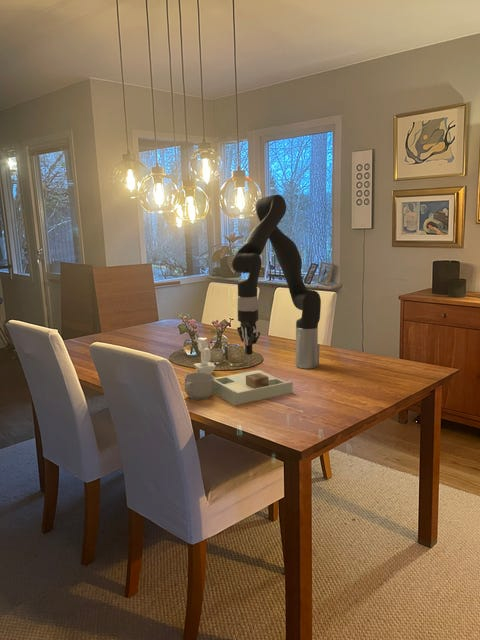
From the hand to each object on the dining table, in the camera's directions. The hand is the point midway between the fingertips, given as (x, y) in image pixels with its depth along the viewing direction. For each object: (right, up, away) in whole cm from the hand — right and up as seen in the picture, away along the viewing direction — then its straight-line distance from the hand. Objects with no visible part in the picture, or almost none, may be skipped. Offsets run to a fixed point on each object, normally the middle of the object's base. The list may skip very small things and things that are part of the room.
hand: (248, 354), depth 198 cm
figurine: (-18, -10, +24) cm, 32 cm away
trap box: (0, -13, +3) cm, 14 cm away
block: (+3, -11, -2) cm, 12 cm away
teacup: (-19, -16, -6) cm, 25 cm away
